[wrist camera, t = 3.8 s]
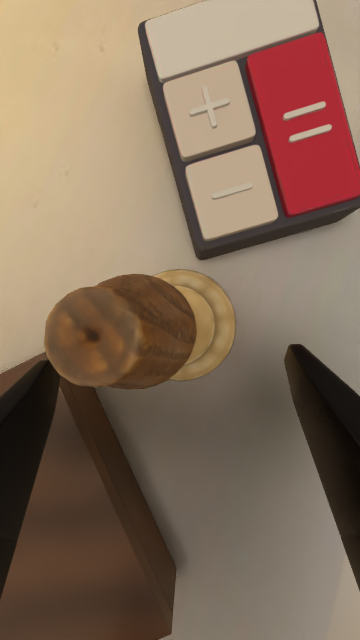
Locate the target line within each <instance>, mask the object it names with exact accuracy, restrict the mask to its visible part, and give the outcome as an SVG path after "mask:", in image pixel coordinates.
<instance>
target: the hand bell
mask: <svg viewBox="0 0 360 640" xmlns="http://www.w3.org/2000/svg"><path fill="white" fill-rule="evenodd" d="M235 333H236V318H235V313H234V309H233V306H232V303H231V301H230V299H229V297H228V296H227V294H226V293H225V291H224V290H223V289H222V288H221V287H220V286H219V285H218V284H217V283H216V282H215V281H213V280H212V279H211V278H209V277H207V276H205V275H203V274H201V273H198V272H195V271H191V270H180V269H177V270H169V271H165V272H162V273H159V274H157V275H155V276H148V275H142V274H129V275H122V276H117V277H114V278H112V279H109V280H106V281H103V282H101V283H99V284H98V285H96V286H95V287H86V288H79V289H77V290H75V291H73V292H71V293H69V294H67V295H66V296H65V297H64V298H63V299H62V300H60V301H59V302H58V303H57V304H56V305H55V307H54V308H53V310H52V311H51V312H50V314H49V316H48V318H47V321H46V329H45V339H44V345H45V350H46V355H47V357H48V359H49V360H50V362H51V364H52V365H53V367H54V368H55V369H56V371H57V372H58V373H59V374H60V375H61V376H63V377H64V378H65V379H67V380H68V381H70V382H71V383H74V384H76V385H79V386H89V387H100V386H109V387H113V388H121V389H144V388H148V387H152V386H156V385H158V384H160V383H162V382H164V381H166V380H168V379H169V380H175V381H185V380H192V379H196V378H199V377H202V376H204V375H206V374H208V373H210V372H211V371H213V370H214V369H215V368H216V367H218V366H219V365H220V364H221V362H222V361H223V360H224V359H225V358H226V356H227V355H228V353H229V351H230V349H231V347H232V344H233V341H234V338H235Z"/></svg>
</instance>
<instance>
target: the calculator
mask: <svg viewBox="0 0 360 640" xmlns="http://www.w3.org/2000/svg"><path fill="white" fill-rule="evenodd" d="M138 34H139V40H140V45H141V50H142V55H143V61H144V66H145V71H146V76H147V81H148V85H149V88H150V92H151V96H152V99H153V103H154V106H155V110H156V114H157V117H158V121H159V124H160V126H161V130H162V133H163V137H164V141H165V144H166V148H167V152H168V155H169V159H170V163H171V166H172V170H173V174H174V177H175V181H176V185H177V188H178V192H179V196H180V199H181V203H182V207H183V210H184V214H185V217H186V221H187V225H188V228H189V232H190V236H191V239H192V243H193V247H194V250H195V254H196V256H197V258H198V259H200V260H204V259H208V258H211V257H215V256H218V255H222V254H225V253H229V252H232V251H236V250H239V249H243V248H246V247H250V246H253V245H257V244H260V243H264V242H267V241H271V240H274V239H278V238H281V237H285V236H288V235H292V234H295V233H299V232H302V231H306V230H309V229H313V228H316V227H320V226H323V225H327V224H330V223H334V222H337V221H339V220H341V219H342V218H344V217H346V216H347V215H349V214H350V213H352V212H354V211H355V210H357V209H358V208H360V165H359V161H358V158H357V154H356V150H355V146H354V142H353V139H352V135H351V131H350V127H349V124H348V120H347V116H346V112H345V108H344V105H343V101H342V97H341V93H340V89H339V86H338V82H337V78H336V74H335V71H334V67H333V63H332V59H331V55H330V52H329V48H328V44H327V40H326V36H325V33H324V29H323V25H322V21H321V18H320V14H319V10H318V6H317V2H316V0H205V1H202V2H199V3H196V4H193V5H190V6H187V7H184V8H181V9H178V10H175V11H173V12H170V13H167V14H164V15H161V16H158V17H155V18H152V19H149V20H146V21H144V22H142V23H140V24H139V27H138Z"/></svg>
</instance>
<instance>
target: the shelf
mask: <svg viewBox="0 0 360 640" xmlns="http://www.w3.org/2000/svg"><path fill="white" fill-rule="evenodd" d="M42 359H48V357H47V355H46V352H44V353H42V354H40V355H38V356H36V357H34V358H32V359H30V360H28V361H26V362H24V363H22V364H20V365H18V366H16V367H14V368H12V369H10V370H8V371H6V372H4V373H2V374H0V396H1V395H2V394H3V393H4V392H5V391H7V390H8V389H9V388H10V387H11V386H12V385H13V384H14V383H15V382H16V381H17V380H19V379H20V378H21V377H22V376H23V375H24V374H25V373H26V372H27V371H28V370H29V369H30V368H32V367H33V366H34V365H35V364H36V363H37V362H38V361H39V360H42ZM175 580H176V567H175V565H174V562H173V560H172V558H171V556H170V554H169V551H168V549H167V547H166V545H165V543H164V541H163V538H162V536H161V534H160V532H159V530H158V527H157V525H156V523H155V521H154V519H153V517H152V514H151V512H150V510H149V508H148V506H147V504H146V501H145V499H144V497H143V495H142V493H141V490H140V488H139V486H138V484H137V482H136V480H135V477H134V475H133V473H132V471H131V469H130V466H129V464H128V462H127V460H126V458H125V456H124V453H123V451H122V449H121V447H120V445H119V442H118V440H117V438H116V436H115V434H114V432H113V429H112V427H111V425H110V423H109V421H108V418H107V416H106V414H105V412H104V410H103V408H102V405H101V403H100V401H99V399H98V397H97V394H96V392H95V390H94V388H93V387H89V386H79V385H76V384H74V383H71V382H70V381H68V380H67V379H65V378H64V377H63V376H61V381H60V386H59V392H58V398H57V403H56V409H55V413H54V417H53V421H52V424H51V428H50V431H49V434H48V438H47V441H46V445H45V448H44V452H43V455H42V458H41V462H40V465H39V469H38V472H37V476H36V479H35V482H34V486H33V489H32V493H31V496H30V500H29V503H28V506H27V510H26V513H25V517H24V520H23V524H22V527H21V530H20V534H19V537H18V540H17V545H16V548H15V552H14V555H13V558H12V562H11V565H10V569H9V572H8V576H7V579H6V582H5V586H4V589H3V593H2V596H1V600H0V640H159V639H161V638H163V637H166V636H168V635H170V634H171V632H172V619H173V605H174V592H175Z"/></svg>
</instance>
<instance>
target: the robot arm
mask: <svg viewBox="0 0 360 640" xmlns="http://www.w3.org/2000/svg"><path fill="white" fill-rule="evenodd" d="M284 362H285V368H286V372H287V376H288V381H289V385H290V390H291V394H292V398H293V402H294V405H295V408H296V411H297V414H298V417H299V420H300V423H301V426H302V428H303V431H304V434H305V437H306V440H307V443H308V445H309V448H310V451H311V454H312V457H313V460H314V462H315V465H316V468H317V471H318V474H319V477H320V479H321V482H322V485H323V488H324V491H325V494H326V496H327V499H328V502H329V505H330V508H331V511H332V513H333V516H334V519H335V522H336V525H337V528H338V530H339V533H340V535H341V539H342V542H343V545H344V548H345V551H346V554H347V556H348V559H349V562H350V565H351V568H352V570H353V573H354V576H355V579H356V582H357V585H358V587H359V590H360V396H359V395H358V394H357V393H356V392H355V391H354V390H352V389H351V388H350V387H349V386H348V385H347V384H346V383H345V382H343V381H342V380H341V379H340V378H339V377H338V376H337V375H336V374H334V373H333V372H332V371H331V370H330V369H329V368H328V367H327V366H325V365H324V364H323V363H322V362H321V361H320V360H319V359H318V358H316V357H315V356H314V355H313V354H312V353H311V352H310V351H309V350H307V349H306V348H305V347H304V346H303V345H301V344H291V345H289V346H288V349H287V352H286V355H285V359H284ZM60 381H61V375H60V374H59V373H58V372H57V371H56V369H55V368H54V367H53V365H52V364H51V362H50V360H49V359H42V360H39V361H38V362H37V363H36V364H35V365H34V366H33V367H32V368H30V369H29V370H28V371H27V372H26V373H25V374H24V375H23V376H22V377H21V378H20V379H19V380H17V381H16V382H15V383H14V384H13V385H12V386H11V387H10V388H9V389H8V390H7V391H5V392H4V393H3V394H2V395H1V396H0V600H1V596H2V593H3V589H4V586H5V582H6V579H7V576H8V572H9V569H10V565H11V562H12V558H13V555H14V552H15V548H16V545H17V540H18V537H19V534H20V530H21V527H22V524H23V520H24V517H25V513H26V510H27V506H28V503H29V500H30V496H31V493H32V489H33V486H34V482H35V479H36V476H37V472H38V469H39V465H40V462H41V458H42V455H43V452H44V448H45V445H46V441H47V438H48V434H49V431H50V428H51V424H52V421H53V417H54V413H55V409H56V403H57V398H58V392H59V386H60Z"/></svg>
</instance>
